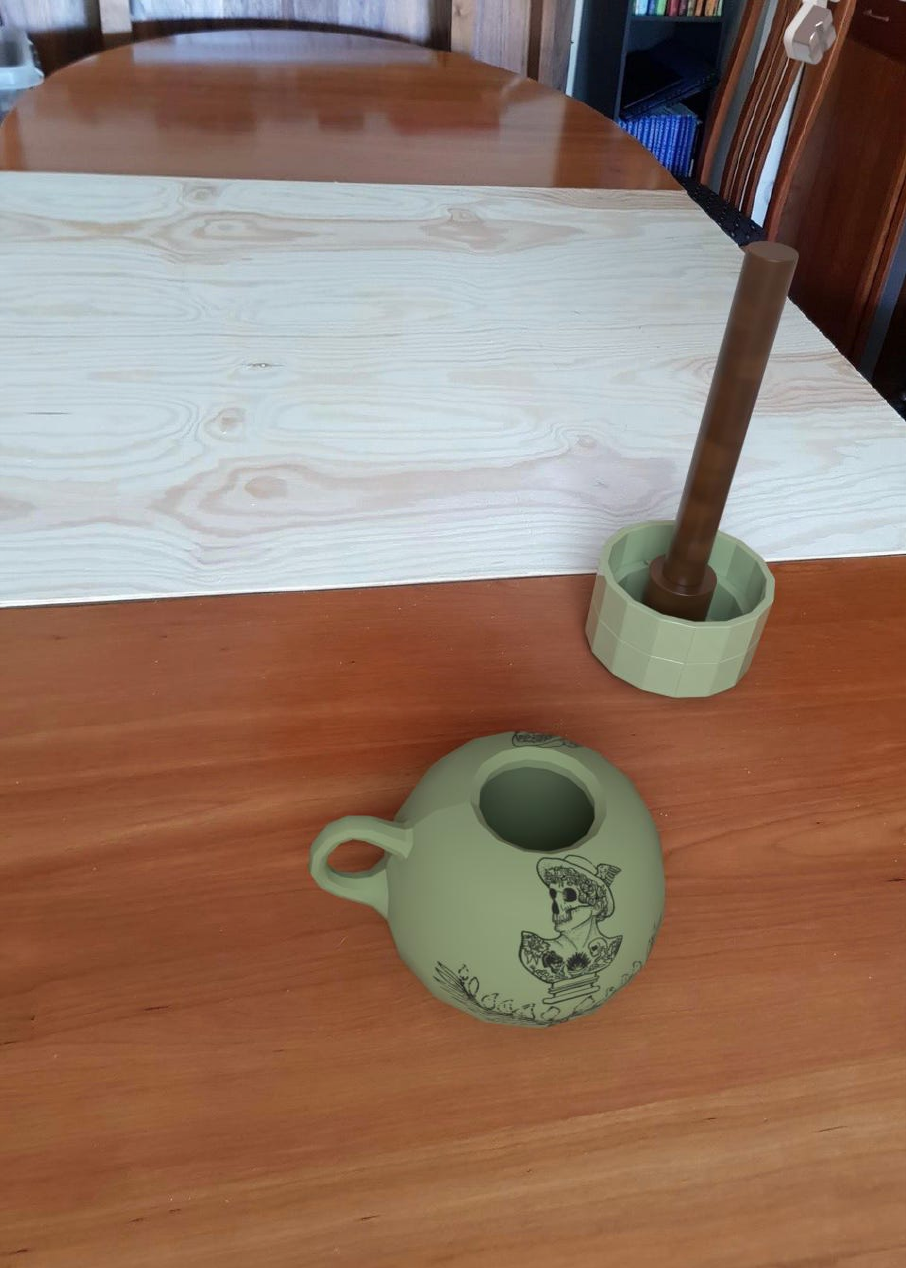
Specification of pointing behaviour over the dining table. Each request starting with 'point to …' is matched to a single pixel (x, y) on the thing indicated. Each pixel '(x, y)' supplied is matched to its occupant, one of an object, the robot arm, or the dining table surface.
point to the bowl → (670, 646)
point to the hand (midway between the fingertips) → (887, 78)
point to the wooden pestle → (722, 434)
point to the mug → (513, 878)
